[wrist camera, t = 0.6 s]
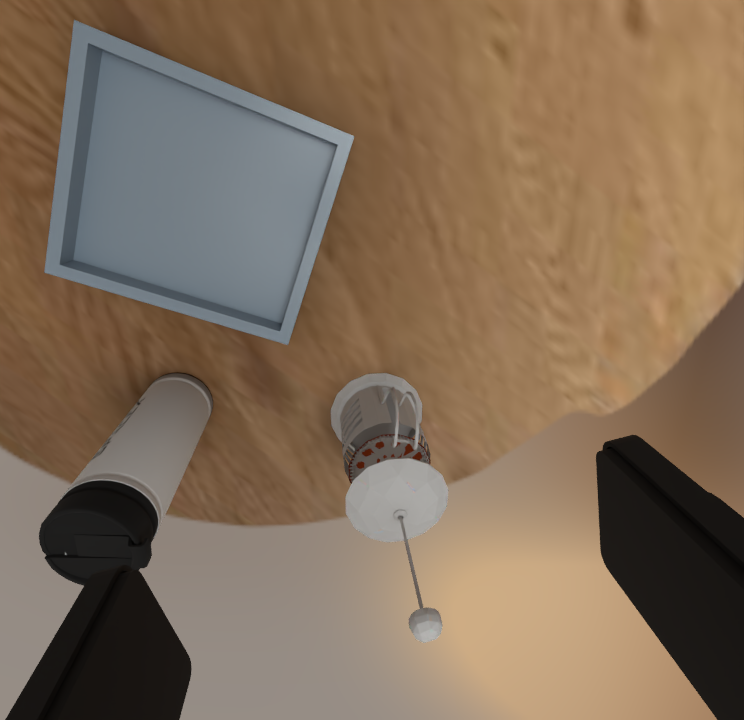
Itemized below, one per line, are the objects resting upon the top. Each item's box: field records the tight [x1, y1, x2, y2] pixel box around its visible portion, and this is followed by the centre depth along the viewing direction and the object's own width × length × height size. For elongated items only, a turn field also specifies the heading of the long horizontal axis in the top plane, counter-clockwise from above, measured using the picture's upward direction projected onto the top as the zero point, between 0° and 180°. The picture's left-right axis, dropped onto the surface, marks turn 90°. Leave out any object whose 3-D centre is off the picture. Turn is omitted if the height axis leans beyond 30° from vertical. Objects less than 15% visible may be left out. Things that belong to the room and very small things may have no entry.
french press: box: [331, 373, 448, 643], centre depth 36 cm, size 10×12×25 cm
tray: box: [44, 20, 354, 345], centre depth 37 cm, size 20×18×3 cm
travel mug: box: [39, 373, 213, 586], centre depth 36 cm, size 6×7×20 cm
